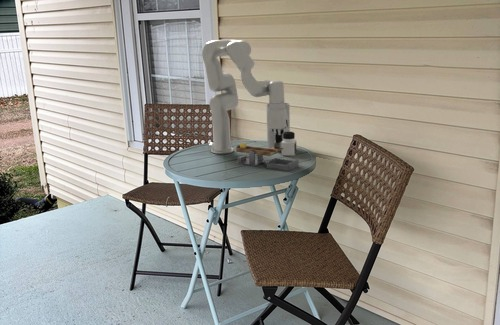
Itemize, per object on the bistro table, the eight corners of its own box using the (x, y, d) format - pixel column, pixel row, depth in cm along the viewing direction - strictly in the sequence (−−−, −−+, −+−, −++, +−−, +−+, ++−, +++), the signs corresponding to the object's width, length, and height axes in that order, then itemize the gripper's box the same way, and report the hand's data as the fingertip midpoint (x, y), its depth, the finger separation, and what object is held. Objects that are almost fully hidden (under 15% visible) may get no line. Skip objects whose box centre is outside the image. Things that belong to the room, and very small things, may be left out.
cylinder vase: (294, 147, 286) (294, 103, 279) (280, 152, 277) (279, 106, 270) (276, 145, 294) (276, 101, 287) (262, 149, 285) (261, 104, 278)
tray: (266, 167, 248) (266, 161, 247) (276, 163, 256) (276, 156, 255) (288, 171, 241) (288, 164, 240) (298, 166, 249) (298, 159, 248)
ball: (238, 149, 258) (238, 142, 257) (242, 147, 261) (242, 141, 260) (243, 150, 257) (244, 144, 256) (247, 149, 260) (248, 142, 258)
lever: (236, 151, 258) (235, 144, 257) (252, 145, 270) (252, 138, 269) (270, 156, 247) (269, 148, 246) (285, 149, 260) (285, 141, 259)
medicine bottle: (294, 155, 269) (294, 133, 266) (281, 155, 270) (281, 133, 267) (296, 152, 275) (296, 130, 272) (283, 152, 277) (283, 130, 274)
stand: (235, 163, 258) (234, 149, 256) (245, 159, 265) (244, 145, 263) (255, 166, 252) (255, 152, 250) (265, 161, 259) (264, 148, 257)
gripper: (260, 107, 255) (262, 142, 260) (286, 107, 247) (288, 144, 251) (268, 104, 261) (270, 139, 266) (293, 105, 253) (295, 141, 257)
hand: (278, 142), depth 259 cm, fingers closed
